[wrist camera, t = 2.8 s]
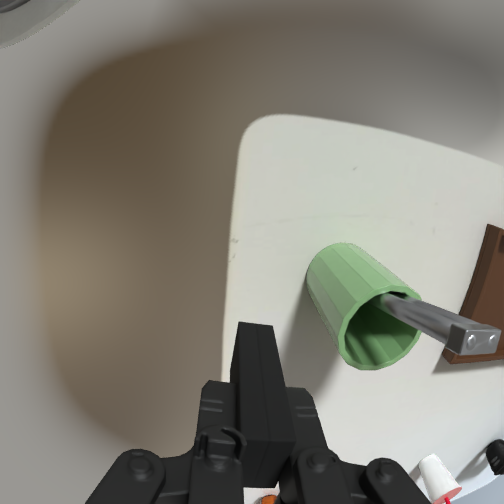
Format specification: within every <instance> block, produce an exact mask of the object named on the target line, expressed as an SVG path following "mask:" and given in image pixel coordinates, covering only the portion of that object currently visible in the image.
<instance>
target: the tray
mask: <svg viewBox="0 0 504 504" xmlns="http://www.w3.org/2000/svg"><path fill="white" fill-rule="evenodd" d="M459 315H460V316H462V317H465V318H468V319H470V320H473V321H475V322H478V323H480V324H488V325H490V326H493V327H495V328H498V329H500V330H501V335H500V338H499V342H498V345H497V349H496V352H495V353H489V354H476V355H458V354H456V353H454V352H452V351H451V350H449V349H447V348H446V347H445V349H444V351H443V353H442V356H443V357H444V358H445V359H446V360H447V361H448V362H449V363H450V364H458V363H471V362H481V361H491V360H500V359H504V229H501V228H498V227H496V226H493V225H490V224H488V225H487V229H486V233H485V237H484V241H483V245H482V248H481V252H480V255H479V259H478V262H477V265H476V269H475V272H474V275H473V278H472V281H471V284H470V287H469V290H468V292H467V295H466V298H465V301H464V303H463V306H462V309H461V311H460V314H459Z"/></svg>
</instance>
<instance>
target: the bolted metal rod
mask: <svg viewBox="0 0 504 504" xmlns="http://www.w3.org/2000/svg"><path fill="white" fill-rule="evenodd" d="M367 303H369V304H371V305H373V306H375V307H377V308H379V309H380V310H382V311H384V312H386V313H388V314H390V315H392V316H394V317H395V318H397V319H399V320H401V321H403V322H405V323H407V324H409V325H410V326H412V327H414V328H416V329H418V330H420V331H422V332H423V333H425V334H427V335H429V336H431V337H433V338H435V339H436V340H438V341H440V342H442V343H444V344H446V345H445V347H446V348H447V349H449V350H451V351H452V352H454V353H456V354H458V355H476V354H489V353H495V352H496V349H497V345H498V342H499V338H500V335H501V330H500V329H498V328H495V327H493V326H490V325H488V324H480V323H478V322H475V321H473V320H470V319H468V318H465V317H462V316H460V315H457V314H455V313H452V312H450V311H447V310H444V309H442V308H439V307H437V306H434V305H431V304H429V303H426V302H424V301H421V300H418V299H416V298H413V297H411V296H408V295H405V294H403V293H400V292H395V291H390V292H386V293H383V294H380V295H376V296H374V297H373V298H371V299H370V300H369V301H367Z"/></svg>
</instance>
